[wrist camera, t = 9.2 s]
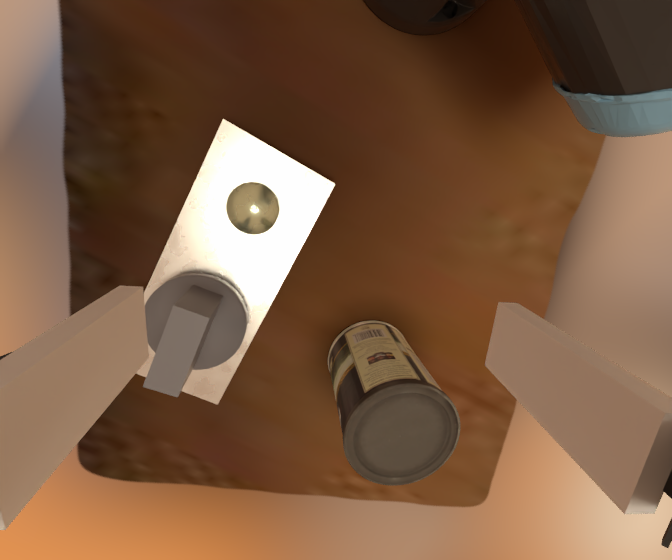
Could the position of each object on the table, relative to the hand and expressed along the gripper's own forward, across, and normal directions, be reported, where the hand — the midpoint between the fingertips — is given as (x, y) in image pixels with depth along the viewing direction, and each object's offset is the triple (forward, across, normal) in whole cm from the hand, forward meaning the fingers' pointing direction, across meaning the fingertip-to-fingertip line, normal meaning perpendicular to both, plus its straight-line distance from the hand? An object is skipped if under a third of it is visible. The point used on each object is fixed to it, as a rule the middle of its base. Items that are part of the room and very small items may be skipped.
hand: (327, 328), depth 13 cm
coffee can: (+27, +8, -16) cm, 32 cm away
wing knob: (+24, -11, -10) cm, 28 cm away
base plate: (+26, -9, -6) cm, 28 cm away
